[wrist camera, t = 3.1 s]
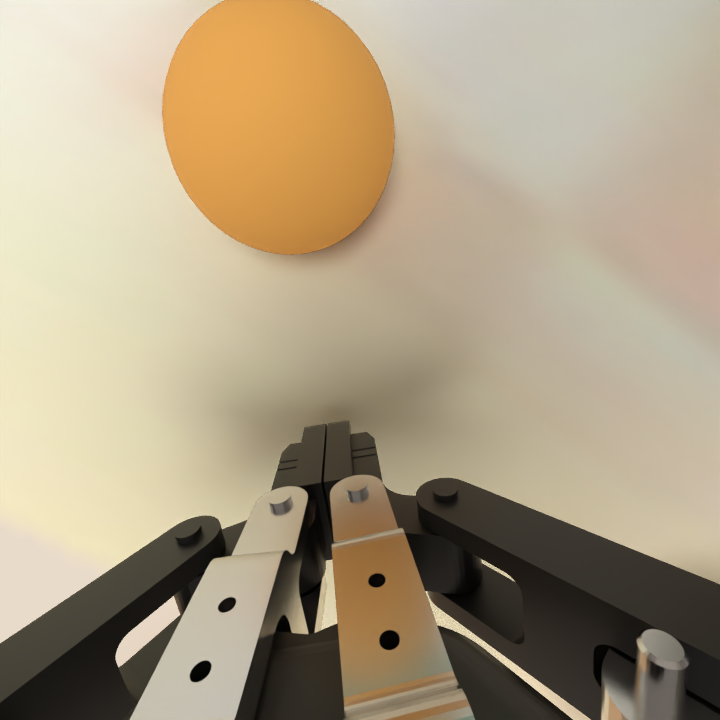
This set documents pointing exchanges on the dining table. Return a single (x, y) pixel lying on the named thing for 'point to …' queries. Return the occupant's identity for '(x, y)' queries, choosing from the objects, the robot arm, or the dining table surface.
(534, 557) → the robot arm
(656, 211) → the dining table surface
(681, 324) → the dining table surface
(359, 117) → the ball
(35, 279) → the dining table surface
